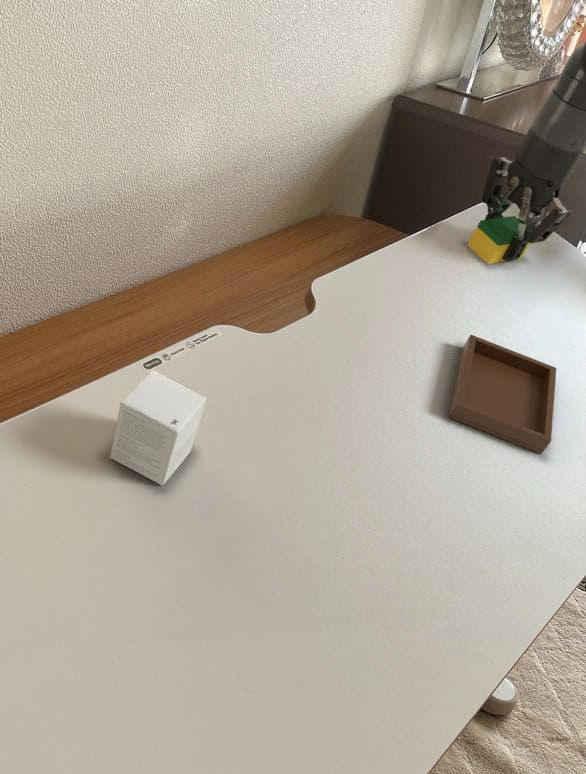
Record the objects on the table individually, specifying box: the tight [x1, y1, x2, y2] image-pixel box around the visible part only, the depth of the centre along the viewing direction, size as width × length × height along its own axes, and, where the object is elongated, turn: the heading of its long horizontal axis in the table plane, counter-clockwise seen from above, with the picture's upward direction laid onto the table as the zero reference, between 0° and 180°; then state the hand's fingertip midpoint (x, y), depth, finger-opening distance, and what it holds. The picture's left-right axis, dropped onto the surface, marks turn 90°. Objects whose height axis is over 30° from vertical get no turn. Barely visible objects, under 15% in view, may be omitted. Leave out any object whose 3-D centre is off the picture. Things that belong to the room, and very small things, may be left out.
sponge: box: [467, 215, 531, 265], centre depth 125 cm, size 7×5×4 cm, turn 120°
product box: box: [109, 369, 207, 486], centre depth 83 cm, size 6×6×7 cm
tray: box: [448, 334, 557, 455], centre depth 104 cm, size 15×11×2 cm
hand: (496, 248), depth 126 cm, fingers closed on sponge, 4 cm apart
